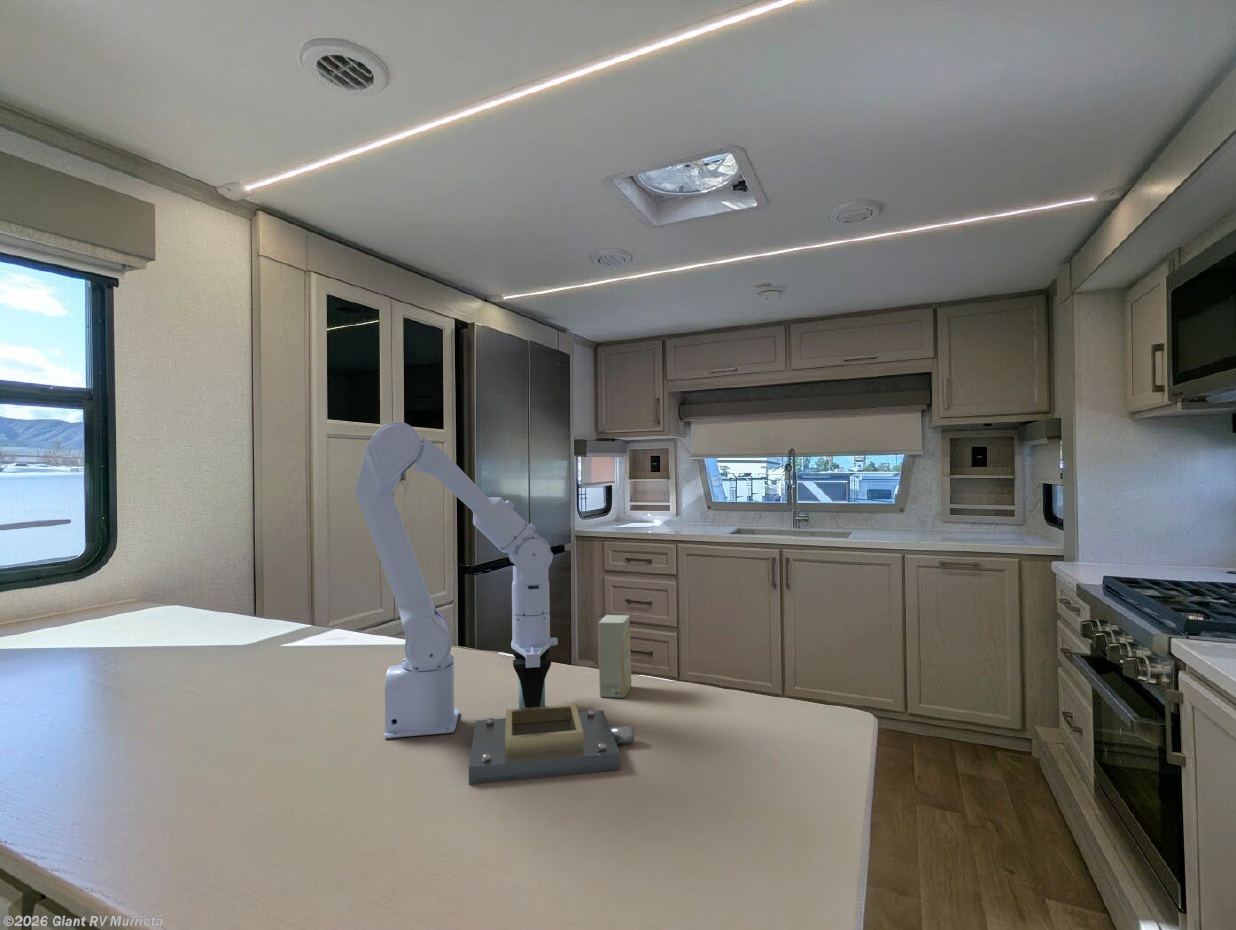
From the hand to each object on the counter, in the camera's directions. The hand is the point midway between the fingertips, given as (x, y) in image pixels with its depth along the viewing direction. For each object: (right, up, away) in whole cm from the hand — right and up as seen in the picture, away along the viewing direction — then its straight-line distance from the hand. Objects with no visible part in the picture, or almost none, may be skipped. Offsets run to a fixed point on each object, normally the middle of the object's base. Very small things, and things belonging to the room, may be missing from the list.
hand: (531, 701), depth 93 cm
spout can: (0, -2, 0) cm, 2 cm away
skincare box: (+13, -2, +8) cm, 15 cm away
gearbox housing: (+5, -1, -13) cm, 14 cm away
